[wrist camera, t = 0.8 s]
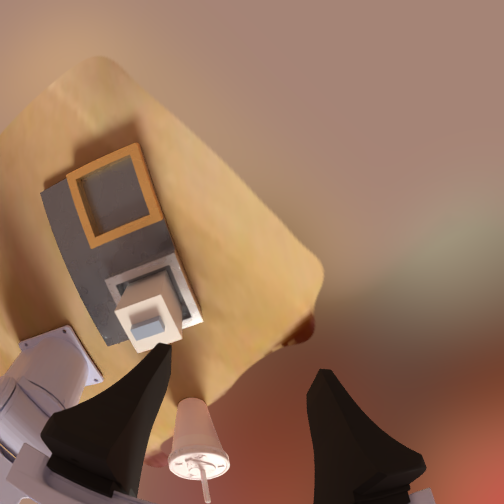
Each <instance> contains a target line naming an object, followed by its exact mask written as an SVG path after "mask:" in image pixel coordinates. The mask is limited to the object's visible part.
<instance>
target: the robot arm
mask: <svg viewBox="0 0 504 504" xmlns="http://www.w3.org/2000/svg"><path fill="white" fill-rule="evenodd" d="M64 330H66V332H65V331H64ZM26 343H27V344H26ZM19 347H20V349H21V350H22V352H21V353H20V354H19V356H18V357H17V358H16V360H15V361H14V362H13V364H12V365H11V366H10V368H9V369H8V370H7V372H6V373H5V375H4V376H1V377H0V443H1V444H2V445H3V446H4V447H5V448H6V449H7V450H8V451H9V452H11V453H12V454H13V455H14V456H15V457H16V459H15V458H14V457H13V456H12V455H11V454H9V453H8V452H7V451H6V450H5V449H4V448H3V447H2V446H0V504H19V503H20V501H21V499H23V498H30V499H32V500H33V501H35V502H36V503H38V504H156V503H152V502H149V501H145V500H142V499H138V498H137V494H138V487H139V481H140V476H141V471H142V466H143V461H144V457H145V452H146V448H147V444H148V440H149V436H150V432H151V429H152V426H153V424H154V421H155V418H156V416H157V413H158V411H159V408H160V406H161V403H162V401H163V398H164V396H165V393H166V390H167V386H168V383H169V379H170V375H171V351H172V345H168V344H164V343H160V342H159V343H157V344H156V346H155V347H154V348H153V349H152V350H151V351H150V352H149V354H148V355H147V356H146V357H145V358H144V359H143V360H142V361H141V362H140V363H139V364H138V365H137V366H135V367H134V368H133V369H132V370H131V371H130V372H129V373H128V374H126V375H125V376H124V377H123V378H122V379H120V380H119V381H118V382H116V383H115V384H114V385H112V386H111V387H109V388H108V389H106V390H105V391H103V392H101V393H100V394H98V395H96V396H95V397H93V398H91V399H89V400H87V401H84V402H82V403H80V404H78V403H79V400H80V397H81V395H82V392H83V389H84V387H85V386H88V385H93V384H97V383H101V382H103V379H104V378H103V376H102V375H101V374H100V372H99V371H98V369H97V368H96V366H95V365H94V363H93V362H92V360H91V359H90V357H89V356H88V354H87V352H86V351H85V349H84V348H83V346H82V344H81V343H80V341H79V340H78V338H77V336H76V334H75V333H74V331H73V329H72V328H71V326H69V325H66V326H63V327H60V328H57V329H54V330H52V331H49V332H46V333H43V334H40V335H38V336H35V337H32V338H29V339H26V340H24V341H21V342H20V343H19ZM96 379H97V380H96ZM307 414H308V420H309V426H310V431H311V437H312V442H313V449H314V462H315V488H314V503H313V504H435V500H434V497H433V494H432V492H431V488H427V489H424V490H421V491H418V492H415V493H412V494H410V495H408V491H409V490H410V485H409V484H410V483H411V482H413V481H414V480H415V479H416V478H418V477H419V476H420V475H422V474H423V473H424V472H425V470H426V465H425V462H424V460H423V457H422V455H421V454H419V453H417V452H415V451H413V450H411V449H409V448H407V447H406V446H404V445H402V444H401V443H399V442H398V441H396V440H395V439H393V438H392V437H390V436H389V435H388V434H387V433H385V432H384V431H382V430H381V429H380V428H379V427H378V426H377V425H376V424H375V423H374V422H373V421H371V419H370V418H369V417H368V416H367V415H366V414H365V413H364V412H363V411H362V410H361V409H360V407H359V406H358V405H357V404H356V403H355V402H354V400H353V399H352V398H351V396H350V395H349V394H348V393H347V391H346V390H345V388H344V387H343V386H342V384H341V383H340V382H339V380H338V379H337V377H336V376H335V375H334V373H333V372H332V370H328V369H319V371H318V374H317V375H316V378H315V379H314V381H313V383H312V385H311V387H310V389H309V391H308V393H307Z"/></svg>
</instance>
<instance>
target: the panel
mask: <svg viewBox="0 0 504 504" xmlns="http://www.w3.org/2000/svg"><path fill="white" fill-rule="evenodd" d="M40 194H41V197H42V201H43V204H44V207H45V210H46V214H47V217H48V220H49V223H50V225H51V228H52V231H53V234H54V237H55V239H56V242H57V244H58V247H59V250H60V252H61V254H62V257H63V259H64V262H65V264H66V266H67V269H68V271H69V273H70V275H71V278H72V280H73V282H74V284H75V286H76V288H77V291H78V293H79V295H80V297H81V299H82V301H83V303H84V305H85V307H86V308H87V310H88V312H89V314H90V316H91V318H92V320H93V322H94V323H95V325H96V327H97V329H98V330H99V332H100V334H101V336H102V337H103V339H104V341H105V342H106V344H107V346H111V345H114V344H117V343H120V342H123V341H126V340H129V338H128V336H127V334H126V332H125V330H124V329H123V327H122V325H121V323H120V321H119V319H118V318H117V316H116V314H115V312H114V311H115V309H116V307H117V305H118V303H119V301H120V299H121V297H122V295H123V293H124V291H125V289H126V287H127V285H128V284H129V283H132V282H135V281H137V280H140V279H143V278H145V277H148V276H151V275H153V274H156V273H159V272H161V271H164V270H166V271H167V273H168V275H169V278H170V280H171V282H172V285H173V287H174V289H175V292H176V294H177V296H178V298H179V301H180V303H181V305H182V329H184V328H187V327H189V326H192V325H195V324H198V323H201V322H203V316H202V310H201V308H200V305H199V303H198V301H197V298H196V296H195V294H194V291H193V289H192V287H191V284H190V282H189V279H188V277H187V274H186V272H185V269H184V267H183V264H182V262H181V259H180V257H179V254H178V252H177V249H176V247H175V244H174V241H173V239H172V236H171V233H170V231H169V228H168V225H167V222H166V220H165V217H164V214H163V211H162V209H161V206H160V203H159V200H158V197H157V194H156V191H155V188H154V185H153V182H152V179H151V176H150V173H149V170H148V167H147V164H146V161H145V157H144V154H143V151H142V148H141V146H140V145H139V144H138V143H137V142H135V143H133V144H131V145H128V146H126V147H123V148H121V149H119V150H116V151H114V152H112V153H110V154H107V155H105V156H103V157H101V158H99V159H97V160H94V161H92V162H90V163H88V164H86V165H84V166H82V167H80V168H78V169H76V170H74V171H72V172H70V173H69V174H67V175H66V179H64V180H62V181H60V182H59V183H57V184H55V185H53V186H51V187H50V188H48V189H46V190H44V191H43V192H41V193H40Z"/></svg>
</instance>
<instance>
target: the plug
mask: <svg viewBox="0 0 504 504" xmlns="http://www.w3.org/2000/svg"><path fill="white" fill-rule="evenodd" d="M114 312H115V314H116V316H117V318H118V319H119V321H120V323H121V325H122V327H123V329H124V330H125V332H126V334H127V336H128V338H129V339H130V341H131V343H132V344H133V346H134V348H135V350H136V351H137V353H141V352H144V351H147V350H150V349H153V348H154V347H155V346H156V344H157V343H159V342H160V343H164V344H169V343H172V342H175V341H178V340H181V339H182V305H181V303H180V301H179V298H178V296H177V294H176V292H175V289H174V287H173V285H172V282H171V280H170V278H169V275H168V273H167V271H166V270H164V271H161V272H159V273H156V274H153V275H151V276H148V277H145V278H143V279H140V280H137V281H135V282H132V283H129V284H128V285H127V287H126V289H125V291H124V293H123V295H122V297H121V299H120V301H119V303H118V305H117V307H116V309H115V311H114Z"/></svg>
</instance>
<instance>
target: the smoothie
mask: <svg viewBox="0 0 504 504" xmlns="http://www.w3.org/2000/svg"><path fill="white" fill-rule="evenodd" d="M168 463H169V468H170V470H171V471H172V472H173V473H174V474H175V475H177V476H179V477H182V478H186V479H191V480H201V481H202V487H203V493H204V499H205V503H210V502H211V500H210V494H209V489H208V484H207V479H212V478H215V477H218V476H220V475H222V474H224V473H225V472H226V471H227V470H228V469H229V466H230V463H229V457H228V455H227V454H226V453H225V452H224V451H223V449H222V446H221V444H220V442H219V439H218V437H217V434H216V431H215V428H214V425H213V423H212V420H211V417H210V414H209V411H208V409H207V406H206V403H205V402H204V401H202V400H201V399H198V398H186V399H183V400H182V401H180V402H179V404H178V408H177V415H176V422H175V429H174V437H173V445H172V453H170V455H169V457H168Z"/></svg>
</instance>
